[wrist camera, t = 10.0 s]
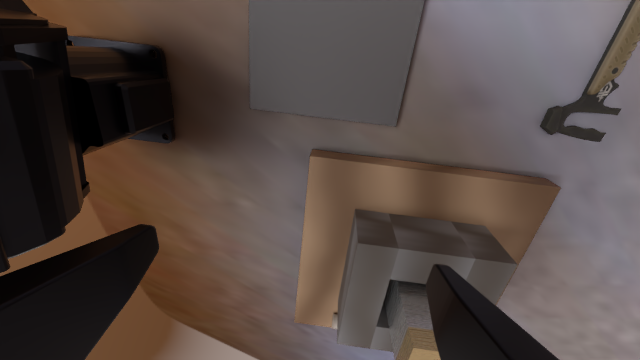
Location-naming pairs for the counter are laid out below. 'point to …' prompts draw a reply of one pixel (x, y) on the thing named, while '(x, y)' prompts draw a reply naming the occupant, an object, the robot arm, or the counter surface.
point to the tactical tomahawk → (600, 80)
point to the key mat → (332, 57)
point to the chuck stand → (406, 235)
